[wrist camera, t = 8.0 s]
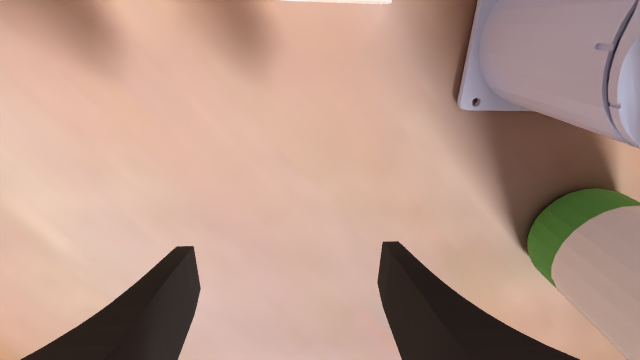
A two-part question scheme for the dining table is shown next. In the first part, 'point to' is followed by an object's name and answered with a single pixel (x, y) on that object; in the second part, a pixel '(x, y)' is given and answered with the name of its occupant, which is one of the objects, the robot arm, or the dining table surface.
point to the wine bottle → (594, 260)
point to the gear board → (349, 1)
